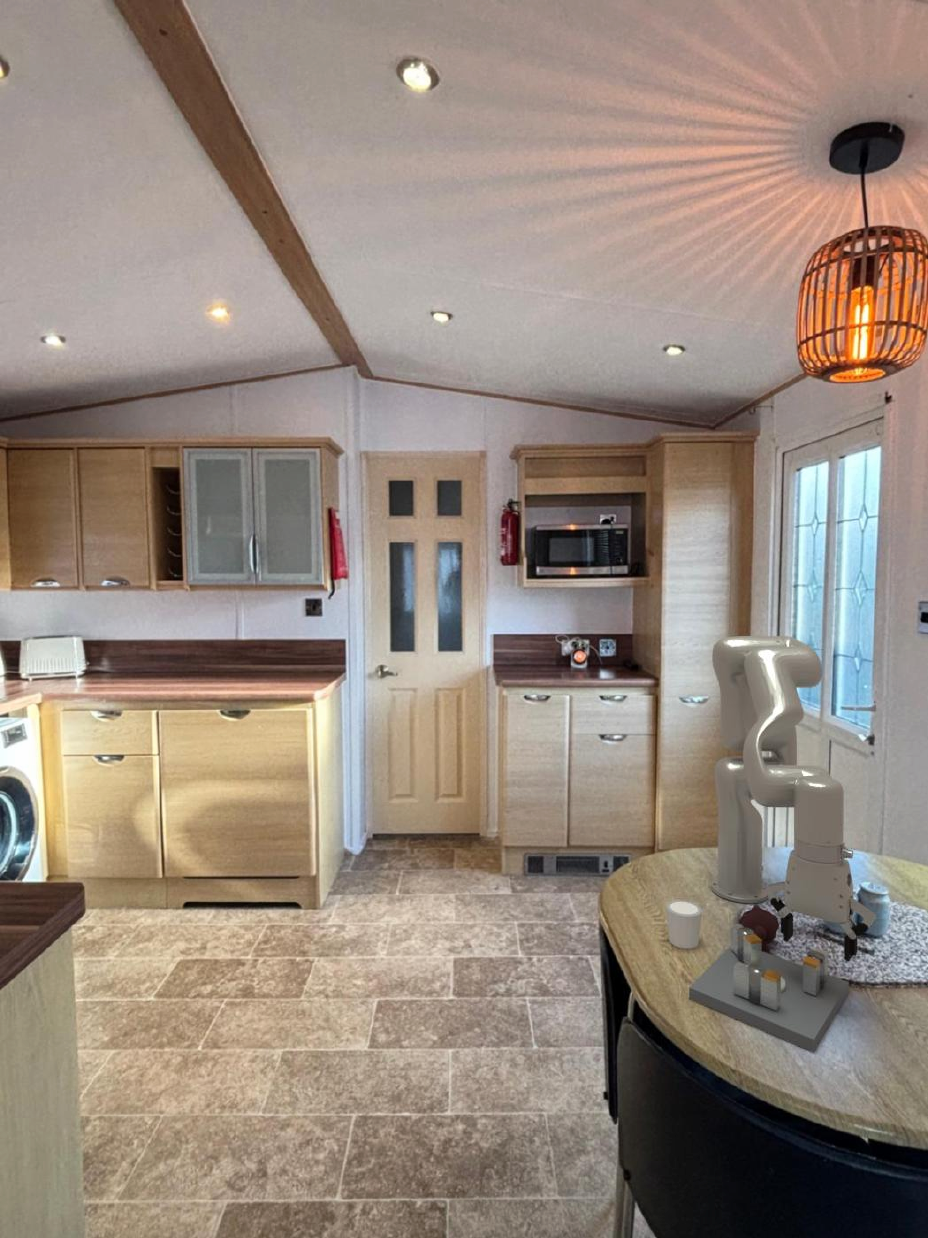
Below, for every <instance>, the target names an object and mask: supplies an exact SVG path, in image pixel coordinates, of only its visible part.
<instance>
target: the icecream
mask: <svg viewBox="0 0 928 1238" xmlns="http://www.w3.org/2000/svg"><path fill="white" fill-rule="evenodd" d="M738 924H741V925H742V926H743V927H745V928H749V929H751V930H753V931H754V934H756V935H757V936H758V937H759V938H760V939H761V940H762V948H761V951H763V952H766V953H768V954H771V948H770V945H769V944H770V943H771V942H773V941H774V940H775V939H776V938H777V933H778V929H779V927H780V923H779V918H778V917H777V916H776V915H775V914H773V913H771V911H769V910H768V909H763V908H762V907H761V906H759V904H757V903H754V905H753V906H752V908H751V909H750V910H746V911H744V912H743V914H742V915H741V917H740V919H739V920H738Z"/></svg>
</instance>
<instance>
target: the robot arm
mask: <svg viewBox="0 0 928 1238" xmlns="http://www.w3.org/2000/svg"><path fill="white" fill-rule="evenodd" d="M711 654H712V655H711V656H712V657H711V658H712V667H713V670H714V674H715V676H716V679H717V681H718V686H719V692H720V736H721V741H722V743H723V745H724V746H725V748H727V749H728V750H731V751H735V752H736V751H737V752H742V755H740V756H737V755H735V756H728V757H726V756H725V757H724V758H721V759H720V760H718V761H717V762H716V764H715V766H714V771H713V772H714V773H713V774H714V782H715V783H714V784H715V788H716V796H717V807H718V808H717V811H718V812H717V813H718V814H717V815H718V816H717V817H718V820H717V821H718V822H717V824H718V825H717V826H718V828H717V833H718V834H717V837H718V838H717V876H715V877H714V878H712V879H711V881H710V888H711V890H712V892H713V893H714V894H716V895H717V896H719V897H721V898H722V899H725V900H728V901H732V902H735V903H742V904H757V903H761V902H765V901H766V900H768V899H769V903H770V904H771V907H773V908H774V909H775V911H776V912H777V916H778V917H779V918H780V933H781V934H782V940H783V942H789V941H790V940H791V939H792V937H793V936H794V915H793V913H791V912H795V913H799V914H803V915H805V916H809V917H813V918H816V919H819V920H823V921H826V922H830V923H833V924H838V925H839V926H840V927H841V928H842V930H843V931H844V932H845V933H846V935H845V936H844V937H843V938H844V939H843V940H844V941H843V943H844V944H843V946H844V947H843V950H844V951H843V960H845V961H846V962H850V961H851V960H852V959H853V957H856V956H857V954H858V937H860V936H861V935H863V934H865V933H866V932H867V931H868V930H869V929H870V927H871V926H872V924H873V923H874V922H875V921H876V919H877V914H876V913H874V912H873V911H871V910H870V909H869V908H867V907H866V906H864V904H862V903H860V902H859V901H858V900H856V899H855V896H854V886H853V885H854V884H853V876H852V871H851V866H850V863H849V861H848V860H847V859H851V860H852V859H853V858H854V852H853V850H852V849H848V848H847V847H846V846H845V844H846V843H845V842H844V827H845V826H844V818H845V815H844V814H845V812H844V811H845V809H844V806H845V804H844V803H845V802H844V800H845V798H844V797H845V795H844V787H843V785H842V783H841V782H840V781H839V780H837V779H834V778H833V777H832V776H831V774H830V772H828V771H827V769H825V768H824V767H821V766H818V765H798V739H797V736H798V735H797V734H798V733H797V728H796V726H797V725H799V724H801V722H802V721H803V719H804V716H805V711H804V707H803V705H802V701H801V698H800V696H799V695H800V694H799V692H798V688H800V689H803V688H805V689H806V688H807V689H810V688H814V687H816V686H818V685H819V684H820V682H821V681H822V678H823V664H822V662H821V660H820V657H819V655H818V654H817V652H816V650H815V649H813V648H812V647H811V646H809V645H808V644H806V643H804V642H802V641H800V640H798V639H797V638H794V637H792V636H788V635H787V636H786V635H785V636H784V635H766V636H765V635H764V636H763V635H762V636H761V635H760V636H759V635H758V636H757V635H741V636H740V635H739V636H736V635H735V636H728V637H727V636H726V637H724V638H721V639H719V640H717V641H716V642H715V643H714V645H713V649H712V653H711ZM763 752H770V755H771V756H763V754H762V753H763ZM753 800H754V801H755V802H756V803H757V804H758V805H760V806H763V807H765V808H793V849H792V850H791V851H790V852H789V857H788V860H787V866H786V867H787V868H786V873H785V881H784V880H783V881H781V882H776V883H771V884H768V885H766V884H764V883H763V872H764V869H765V868H764V865H763V827H764V825H763V817H762V814H761V812H759V810H758V809H757V808H756V806H754V804H753V803H752V801H753ZM783 891H784V892H783ZM780 892H783V893H784V895H783V897H784V902H783V901H782V900H781V898H780V897H779V896H778V894H777V893H780ZM854 913H856V914H857V915H859V916H861V918H862V919H863V920H862V921H861V922H859V923H856V922H855V920H854V919H853V915H854Z"/></svg>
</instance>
